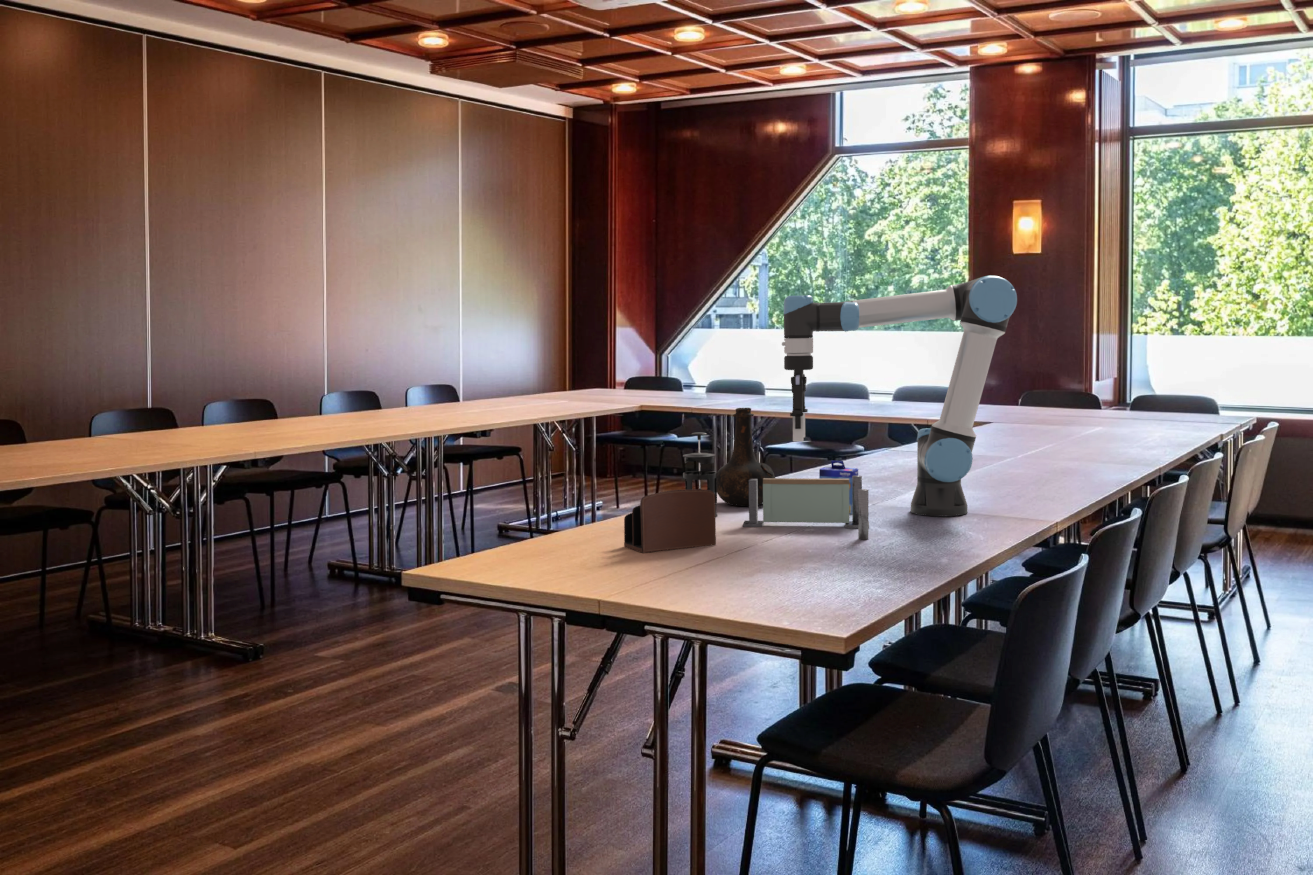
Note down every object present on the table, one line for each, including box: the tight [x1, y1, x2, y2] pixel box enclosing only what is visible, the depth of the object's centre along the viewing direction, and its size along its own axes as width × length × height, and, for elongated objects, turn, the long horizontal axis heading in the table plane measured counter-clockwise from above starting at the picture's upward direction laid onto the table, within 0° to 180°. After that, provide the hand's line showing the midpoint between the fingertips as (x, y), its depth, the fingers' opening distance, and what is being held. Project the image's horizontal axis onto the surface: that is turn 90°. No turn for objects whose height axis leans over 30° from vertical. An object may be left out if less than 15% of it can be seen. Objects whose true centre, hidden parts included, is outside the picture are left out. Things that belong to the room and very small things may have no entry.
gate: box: [762, 477, 850, 524], centre depth 319 cm, size 22×2×11 cm, turn 81°
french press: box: [682, 431, 718, 518], centre depth 337 cm, size 12×9×23 cm
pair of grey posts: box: [742, 475, 870, 541], centre depth 311 cm, size 32×22×13 cm
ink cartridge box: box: [818, 460, 859, 515], centre depth 340 cm, size 10×6×14 cm, turn 64°
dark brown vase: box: [716, 407, 776, 507], centre depth 357 cm, size 18×18×28 cm
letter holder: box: [623, 488, 717, 554], centre depth 294 cm, size 10×20×14 cm, turn 117°
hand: (799, 439), depth 326 cm, fingers open, 10 cm apart
